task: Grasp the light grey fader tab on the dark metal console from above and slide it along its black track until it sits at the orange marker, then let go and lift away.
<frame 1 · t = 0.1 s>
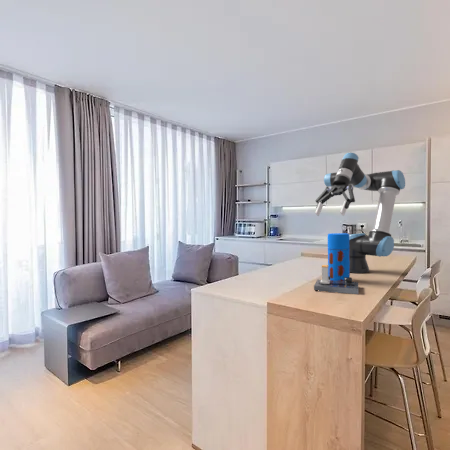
hand: (329, 214, 146), 36 cm above the countertop, tool tilted 35°, fingers open, 13 cm apart
thermos: (338, 280, 162), on the countertop
console: (336, 288, 144), on the countertop
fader: (325, 274, 145), point 7 cm above the countertop, slide at -5.0 cm
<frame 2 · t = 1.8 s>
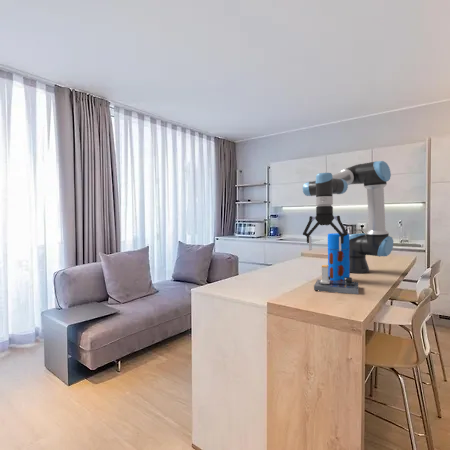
hand: (325, 250, 144), 19 cm above the countertop, tool pointing down, fingers open, 13 cm apart
nothing on the countertop moved.
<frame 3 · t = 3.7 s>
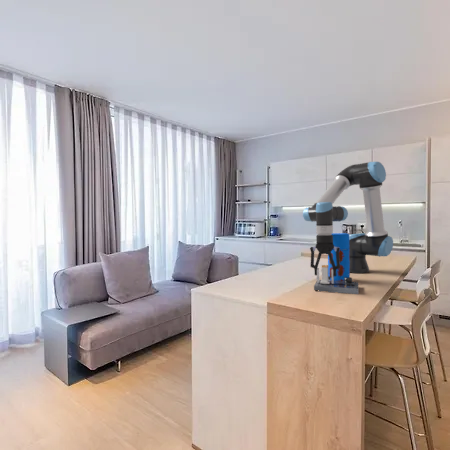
hand: (325, 282, 145), 3 cm above the countertop, tool pointing down, fingers closed on console, 6 cm apart
nothing on the countertop moved.
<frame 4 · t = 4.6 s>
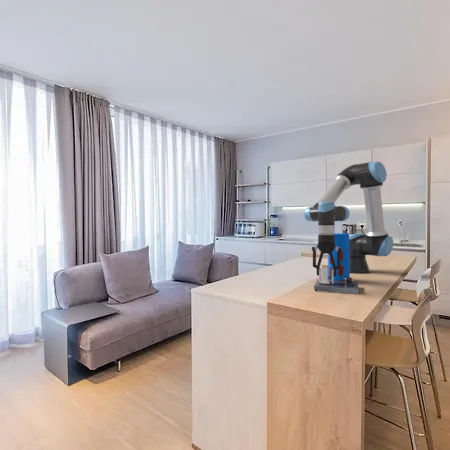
hand: (326, 282, 145), 3 cm above the countertop, tool pointing down, fingers open, 5 cm apart
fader: (325, 274, 145), point 7 cm above the countertop, slide at -5.0 cm, touching gripper
everything else where it was.
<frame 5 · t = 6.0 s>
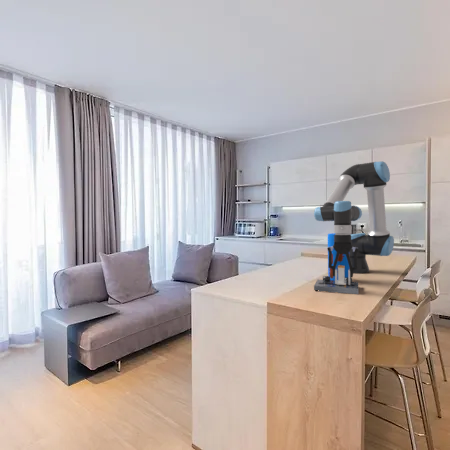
hand: (342, 283, 142), 3 cm above the countertop, tool pointing down, fingers open, 5 cm apart
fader: (341, 274, 142), point 7 cm above the countertop, slide at 2.3 cm, touching gripper
everything else where it was.
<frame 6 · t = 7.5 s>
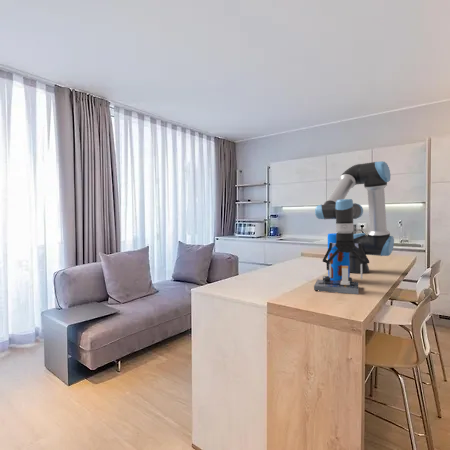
hand: (345, 277, 142), 6 cm above the countertop, tool pointing down, fingers open, 13 cm apart
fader: (345, 275, 141), point 7 cm above the countertop, slide at 3.9 cm
everything else where it was.
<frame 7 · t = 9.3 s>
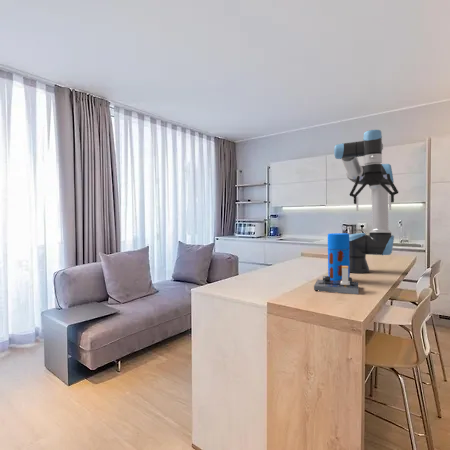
hand: (373, 210, 141), 37 cm above the countertop, tool pointing down, fingers open, 13 cm apart
nothing on the countertop moved.
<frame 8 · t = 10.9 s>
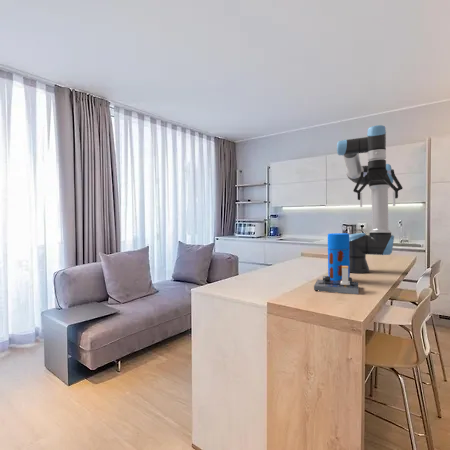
hand: (377, 206, 140), 39 cm above the countertop, tool pointing down, fingers open, 13 cm apart
nothing on the countertop moved.
at the end: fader slide at 3.9 cm; the gripper is holding nothing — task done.
